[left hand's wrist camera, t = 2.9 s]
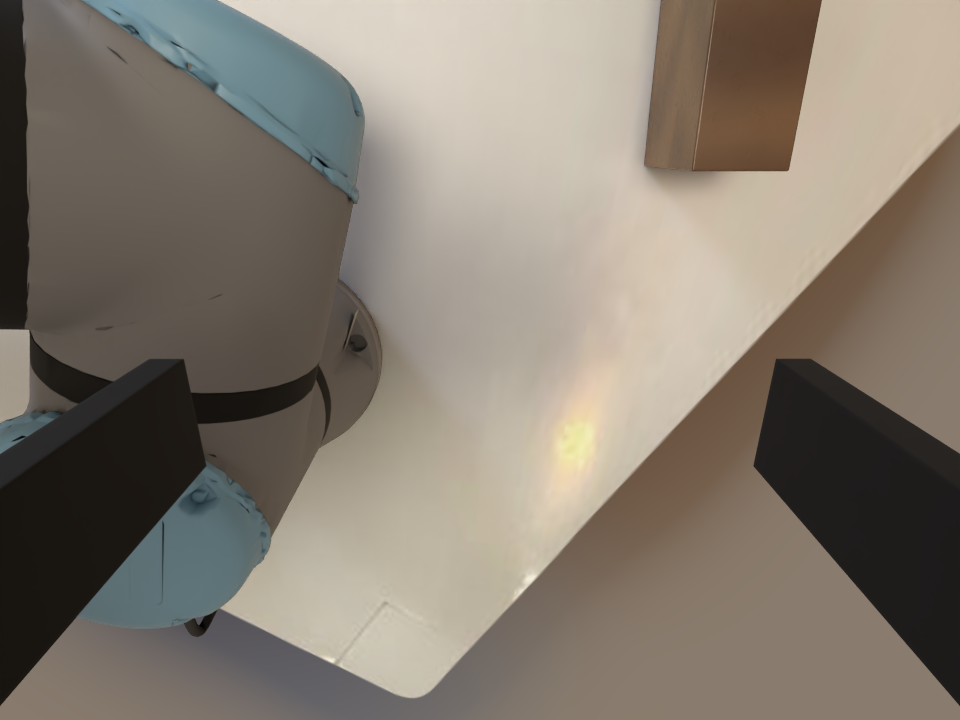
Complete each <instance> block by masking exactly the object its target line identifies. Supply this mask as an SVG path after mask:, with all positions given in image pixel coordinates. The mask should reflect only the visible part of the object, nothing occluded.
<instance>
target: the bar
mask: <svg viewBox="0 0 960 720" xmlns="http://www.w3.org/2000/svg"><path fill="white" fill-rule="evenodd" d="M821 2H822V0H661V9H660V18H659V28H658V38H657V47H656V57H655V67H654V76H653V86H652V96H651V106H650V115H649V125H648V135H647V144H646V154H645V164H644V165H645V166H650V167H659V168H668V169H677V170H687V171H788V170H789V166H790V161H791V156H792V151H793V146H794V141H795V135H796V130H797V125H798V120H799V115H800V110H801V104H802V99H803V94H804V89H805V84H806V79H807V74H808V68H809V63H810V58H811V53H812V48H813V43H814V38H815V32H816V27H817V22H818V17H819V12H820V7H821Z"/></svg>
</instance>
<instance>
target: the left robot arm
mask: <svg viewBox="0 0 960 720" xmlns="http://www.w3.org/2000/svg"><path fill="white" fill-rule="evenodd" d="M364 126H365V117H364V111H363V107H362V103H361V101H360V99H359V96H358V95H357V93H356V91H355V90H354V88H353V87H352V85H351V84H350V83H349V82H348V81H347V80H346V78H345V77H344V76H342V75H341V74H340V73H339V72H338V71H337V70H336V69H334V68H333V67H332V66H331V65H329V64H328V63H326V62H325V61H324V60H322V59H321V58H319V57H318V56H316V55H315V54H313V53H311V52H310V51H308V50H307V49H305V48H303V47H302V46H300V45H298V44H297V43H295V42H293V41H292V40H290V39H288V38H286V37H285V36H283V35H281V34H280V33H278V32H276V31H274V30H272V29H271V28H269V27H267V26H265V25H263V24H262V23H260V22H258V21H256V20H254V19H252V18H250V17H249V16H247V15H245V14H243V13H241V12H239V11H237V10H235V9H234V8H232V7H230V6H228V5H226V4H224V3H222V2H220V1H218V0H0V329H22V330H29V332H30V399H29V404H28V407H27V409H26V411H25V413H24V414H23V415H21V416H18V417H16V418H13V419H9V420H6V421H4V422H2V423H0V705H1V704H2V703H3V702H4V701H5V700H6V698H7V697H8V696H9V695H10V694H11V693H12V691H13V690H14V689H15V688H16V687H17V686H18V684H19V683H20V682H21V681H22V680H23V679H24V677H25V676H26V675H27V674H28V673H29V672H30V670H31V669H32V668H33V667H34V666H35V665H36V664H37V662H38V661H39V660H40V659H41V658H42V657H43V655H44V654H45V653H46V652H47V651H48V650H49V648H50V647H51V646H52V645H53V644H54V643H55V642H56V640H57V639H58V638H59V637H60V636H61V635H62V633H63V632H64V631H65V630H66V629H67V628H68V626H69V625H70V624H71V623H72V622H73V620H74V619H75V618H76V617H78V618H81V619H85V620H88V621H92V622H96V623H100V624H105V625H111V626H118V627H126V628H140V629H151V628H163V627H171V626H177V625H180V624H183V623H184V624H185V627H186V629H187V630H188V632H189V633H190V634H191V635H192V636H196V637H199V636H201V635H203V634H204V633H205V632H206V631H207V629H208V628H209V626H210V624H211V622H212V620H213V618H214V616H215V614H216V612H217V610H218V609H219V608H220V607H222V606H223V605H224V604H226V603H227V602H228V601H229V600H230V599H231V598H232V597H233V596H234V595H235V594H236V593H237V592H238V591H239V589H240V588H241V587H242V585H243V584H244V582H245V581H246V579H247V578H248V576H249V574H250V573H251V571H252V570H253V568H255V567H256V565H258V564H259V563H261V562H262V561H263V559H264V556H265V555H266V554H267V552H268V550H269V547H270V543H271V537H272V535H273V533H274V531H275V529H276V528H277V526H278V524H279V522H280V520H281V518H282V516H283V514H284V513H285V511H286V509H287V507H288V505H289V503H290V501H291V499H292V497H293V496H294V494H295V492H296V490H297V488H298V486H299V484H300V482H301V481H302V479H303V477H304V475H305V473H306V471H307V469H308V467H309V465H310V464H311V462H312V460H313V458H314V456H315V454H316V452H317V450H318V448H320V447H322V446H323V445H325V444H327V443H328V442H330V441H332V440H333V439H335V438H337V437H338V436H340V435H341V434H343V433H344V432H345V431H347V430H348V429H349V428H350V427H351V426H352V425H353V424H354V423H355V422H356V421H357V420H358V419H359V418H360V416H361V415H362V414H363V413H364V411H365V410H366V408H367V407H368V405H369V403H370V401H371V399H372V397H373V395H374V393H375V390H376V388H377V385H378V382H379V378H380V373H381V365H382V354H381V345H380V340H379V336H378V333H377V329H376V327H375V324H374V322H373V320H372V318H371V316H370V314H369V312H368V311H367V309H366V308H365V306H364V304H363V303H362V302H361V301H360V299H359V298H358V297H357V296H356V294H355V293H354V292H353V291H352V290H351V289H350V288H349V287H348V286H346V285H345V284H344V283H343V282H342V281H340V280H339V279H338V275H339V270H340V265H341V260H342V255H343V250H344V246H345V241H346V236H347V231H348V226H349V221H350V217H351V212H352V207H353V203H356V204H357V201H358V198H359V193H358V190H357V188H356V180H357V173H358V167H359V160H360V153H361V147H362V140H363V133H364ZM754 467H755V468H756V470H757V471H758V472H759V473H760V474H761V475H762V476H763V478H764V479H765V480H766V481H767V482H768V483H769V485H770V486H771V487H772V488H773V489H774V490H775V492H776V493H777V494H778V495H779V496H780V497H781V499H782V500H783V501H784V502H785V503H786V504H787V506H788V507H789V508H790V509H791V510H792V511H793V513H794V514H795V515H796V516H797V517H798V518H799V519H800V521H801V522H802V523H803V524H804V525H805V526H806V528H807V529H808V530H809V531H810V532H811V533H812V535H813V536H814V537H815V538H816V539H817V540H818V542H819V543H820V544H821V545H822V546H823V547H824V549H825V550H826V551H827V552H828V553H829V554H830V556H831V557H832V558H833V559H834V560H835V561H836V562H837V564H838V565H839V566H840V567H841V568H842V569H843V571H844V572H845V573H846V574H847V575H848V576H849V578H850V579H851V580H852V581H853V582H854V583H855V585H856V586H857V587H858V588H859V589H860V590H861V592H862V593H863V594H864V595H865V596H866V597H867V599H868V600H869V601H870V602H871V603H872V604H873V605H874V607H875V608H876V609H877V610H878V611H879V612H880V614H881V615H882V616H883V617H884V618H885V619H886V621H887V622H888V623H889V624H890V625H891V626H892V628H893V629H894V630H895V631H896V632H897V633H898V635H899V636H900V637H901V638H902V639H903V640H904V641H905V643H906V644H907V645H908V646H909V647H910V648H911V650H912V651H913V652H914V653H915V654H916V655H917V657H918V658H919V659H920V660H921V661H922V662H923V664H924V665H925V666H926V667H927V668H928V669H929V670H930V672H931V673H932V674H933V675H934V676H935V677H936V679H937V680H938V681H939V682H940V683H941V684H942V686H943V687H944V688H945V689H946V690H947V691H948V693H949V694H950V695H951V696H952V697H953V698H954V700H955V701H956V702H957V703H958V704H959V705H960V454H959V453H958V452H956V451H955V450H953V449H951V448H950V447H948V446H947V445H945V444H944V443H942V442H940V441H939V440H937V439H936V438H934V437H932V436H931V435H929V434H928V433H926V432H925V431H923V430H922V429H920V428H918V427H917V426H915V425H914V424H912V423H911V422H909V421H907V420H906V419H904V418H903V417H901V416H900V415H898V414H896V413H895V412H893V411H892V410H890V409H889V408H887V407H885V406H884V405H882V404H881V403H879V402H878V401H876V400H874V399H873V398H871V397H870V396H868V395H867V394H865V393H864V392H862V391H860V390H859V389H857V388H856V387H854V386H852V385H851V384H849V383H848V382H846V381H845V380H843V379H841V378H840V377H838V376H837V375H835V374H834V373H832V372H831V371H829V370H827V369H826V368H824V367H823V366H821V365H820V364H818V363H816V362H815V361H813V360H812V359H776V362H775V367H774V371H773V376H772V381H771V386H770V390H769V395H768V400H767V405H766V409H765V414H764V419H763V423H762V428H761V433H760V438H759V442H758V447H757V452H756V456H755V461H754ZM203 616H204V618H203V620H202V622H201V623H200V625H198V624H197V622H196V620H195V618H199V617H203Z"/></svg>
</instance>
